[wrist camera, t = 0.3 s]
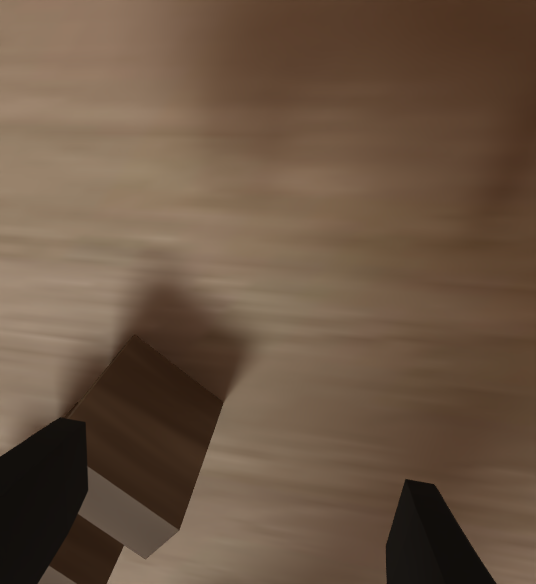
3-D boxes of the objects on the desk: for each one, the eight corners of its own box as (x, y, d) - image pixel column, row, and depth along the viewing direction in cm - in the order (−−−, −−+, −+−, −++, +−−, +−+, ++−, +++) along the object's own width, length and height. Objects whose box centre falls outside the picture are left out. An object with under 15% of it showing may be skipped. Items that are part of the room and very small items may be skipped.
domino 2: (134, 334, 22) (51, 440, 16) (223, 402, 23) (179, 530, 16) (110, 362, 23) (21, 475, 16) (197, 428, 23) (145, 559, 17)
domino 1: (77, 402, 24) (-19, 522, 17) (161, 463, 25) (99, 598, 18) (57, 426, 25) (-42, 549, 18) (139, 484, 25) (72, 621, 19)
